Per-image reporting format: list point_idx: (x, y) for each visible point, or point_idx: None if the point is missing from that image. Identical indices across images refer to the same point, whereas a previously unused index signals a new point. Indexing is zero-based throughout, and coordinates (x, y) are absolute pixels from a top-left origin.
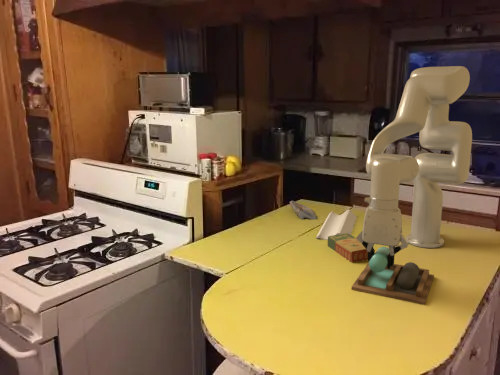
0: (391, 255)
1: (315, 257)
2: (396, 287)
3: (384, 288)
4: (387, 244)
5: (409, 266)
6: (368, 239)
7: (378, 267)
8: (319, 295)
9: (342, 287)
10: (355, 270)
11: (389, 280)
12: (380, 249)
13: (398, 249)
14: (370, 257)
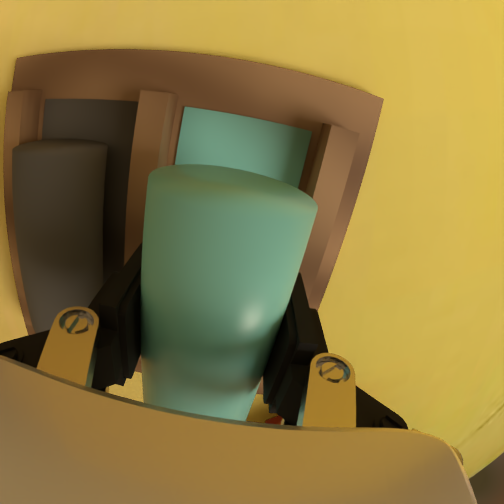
0: (88, 310)
1: (465, 372)
2: (123, 147)
3: (188, 110)
4: (43, 387)
5: (40, 290)
6: (398, 471)
7: (219, 177)
8: (490, 37)
9: (419, 117)
10: (346, 324)
11: (153, 166)
12: (214, 414)
13: (5, 350)
14: (301, 308)
